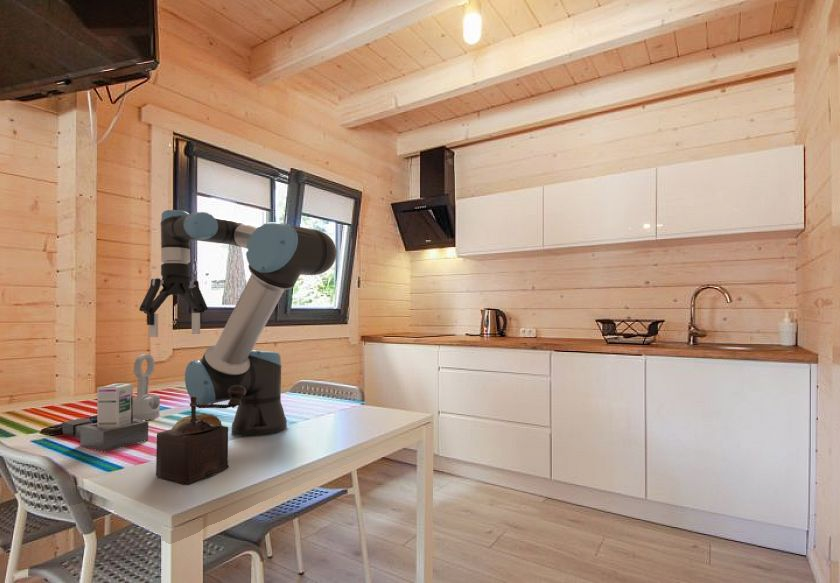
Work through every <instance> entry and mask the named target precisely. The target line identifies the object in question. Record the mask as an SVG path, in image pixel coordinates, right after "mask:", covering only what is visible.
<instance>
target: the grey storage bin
mask: <svg viewBox="0 0 840 583" xmlns="http://www.w3.org/2000/svg"><path fill="white" fill-rule="evenodd" d="M62 431H63V434H62V435H67V436H70V437H77V438H79V439H80V444H79V445H81V446H80V447H84V446H85V447H84V448H87V447H89V448H88V449H91V448H93V449H92V450H94V449H96V450H95V451H97V450H99V452H101V451H102V453H105V452H104V451H106V452H109V451H114V450H117V449H121V448H124V447H127V446H126V445H128V446H131V445H130V444H132V445H134V444H133V443H136V444H138V443H137V442H140V443H142V442H141V441H143V442H145V441H144V440H147V441H149V420H147V421H143V420H139V419H134V418H133V424H129V425H125V426H120V427H116V428H111V429H103V428H98V427H97V422H94V423H93V420H91V419H86V418H77V419H72V420H67V421H63V422H62ZM62 431H61V432H62ZM123 446H124V447H123ZM120 447H121V448H120ZM108 450H109V451H108Z"/></svg>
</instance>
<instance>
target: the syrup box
mask: <svg viewBox="0 0 840 583" xmlns="http://www.w3.org/2000/svg"><path fill="white" fill-rule="evenodd" d="M96 391H97V394H96V396H97V400H96V402H97V403H96V404H97V405H96V406H97V410H96V413H97V417H96V418H97V419H96V420H97V422H96V423H97V427H98V428H103V429H111V428H116V427H120V426H125V425H129V424H133V398H134V384H133V383H130V382H129V383H128V382H119V383H112V384H108V385H105V386H99V387H98V388H97V390H96Z"/></svg>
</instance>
